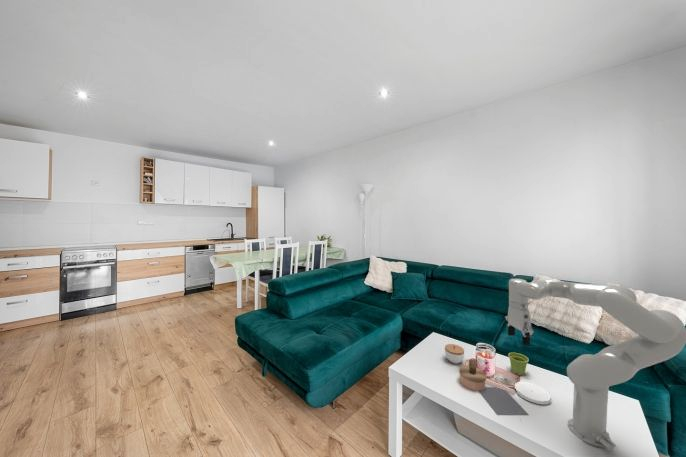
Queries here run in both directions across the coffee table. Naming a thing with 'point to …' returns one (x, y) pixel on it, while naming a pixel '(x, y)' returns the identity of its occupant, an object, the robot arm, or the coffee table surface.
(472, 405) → the coffee table surface
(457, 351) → the lidded jar
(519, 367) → the plant pot
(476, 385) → the bowl
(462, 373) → the lid
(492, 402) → the mat
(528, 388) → the plastic lid
